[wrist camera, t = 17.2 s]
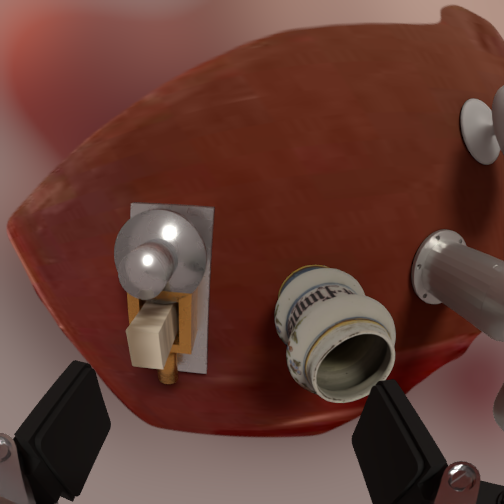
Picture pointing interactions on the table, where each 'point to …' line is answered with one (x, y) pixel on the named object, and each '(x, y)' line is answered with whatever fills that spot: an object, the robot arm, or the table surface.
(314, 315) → the apothecary jar
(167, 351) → the cream rectangular block
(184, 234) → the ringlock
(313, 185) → the table surface
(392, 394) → the robot arm
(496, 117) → the chalice
